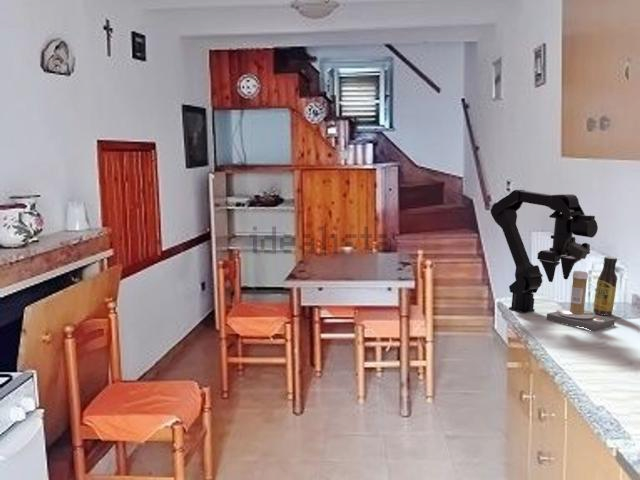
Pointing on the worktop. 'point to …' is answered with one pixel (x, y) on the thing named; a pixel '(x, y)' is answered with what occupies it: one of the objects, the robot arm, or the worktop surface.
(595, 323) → the scale
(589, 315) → the scale pan
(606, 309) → the sauce bottle
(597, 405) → the worktop surface
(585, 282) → the sprinkles bottle
